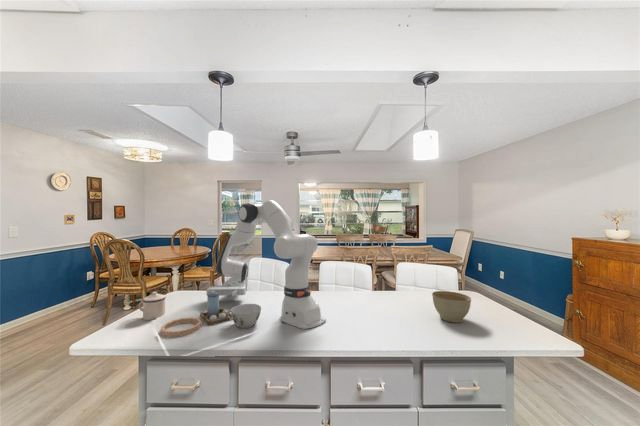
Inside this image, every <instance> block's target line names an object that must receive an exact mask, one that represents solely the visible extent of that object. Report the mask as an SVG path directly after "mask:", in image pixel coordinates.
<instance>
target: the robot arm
mask: <svg viewBox="0 0 640 426" xmlns="http://www.w3.org/2000/svg"><path fill="white" fill-rule="evenodd" d="M237 213H238V218H237V222H236V226H235V230H234V232H233V233H231V234H229V235H228V237H227V239H226V241H225V244H224V245H223V249H222V251H221V254H220V256H219V259H218V260H217V262H216V264H215V272H216V273H217V275H219V276H226V277H230V278H229V279H227V280H226V281H225V282H223V283H222V285H212V286H209V287H207V289H206V291H205V292H206V293H205V294H206V296H207V294H208V293H210V292H219V297H221V296H226V297H234V296H245V295H246V293H247V292H246V291H247V283H246V281H245V280H246V279H247V277H248V274H249V266H248V265H247V263H246V262H242V261H239V260H234V259H229V255H230V253H231V250H232V248H233V247H235V246H236V247H237V246H242V245H246V244H249V243H250V242H252V241H253V239H254V237H255V234H256V229H257V224H265V223H266V224H267V225H268V227H269V228H270V230H271V232H272V233H273V235H274V238H275V241H274V243H273V251H274V254H275V255H276V256H277V257H278V258H280V259H283V260H284V259H285V260H287V259H288V260H289V259H291V261H290V263H289V265H287V267H286V269H285V271H284V272H285V273H284V275H285V276H284V281H285V282H284V287H283V295H284V297H283V299H282V303H281V304H282V305H281V315H280V317H279V320H280V321H282V322H283V323H284V324H287V325H291V326H293V327H295V328H299V329H302V330H307V329H311V328H312V329H313V328H315V327H318V326H320V325H323V324H325V323H326V321H327V318H326V317H325V316H323V315H322V314H321V313H322V312H321V308H320V306H319V303H318V302H317V301H316V300H315V299H314V298H313V296H312V295H311V293H312V292H313V291H312V289H310V286H309V269H310V265H311V261H312V258H313V256H314V253H315V252H317V249H318V240H317V238H316V237H315V236H314V235H311V234H309V233H308V234H307V233H301V234H300V233H298V234H297V233H295V231H294V230H293V227H294V221H293V220H292V219H291V218H290V216H289V215H288V213H286V211H285V209H284V208H282V206H281V205H279V203H278V202H277V201H275V200H273V199H268V200H266V201H264V202H263V203H258V202H255V203H253V202H252V203H244V204H241V205H240V207H239V209H238V212H237Z"/></svg>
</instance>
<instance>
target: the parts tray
mask: <svg viewBox="0 0 640 426" xmlns="http://www.w3.org/2000/svg"><path fill="white" fill-rule="evenodd" d="M224 310H226V309H225V308H219V315H220V314H221V313H222V312H223V311H224ZM229 316H230V317H231V318H232V315H231V312H230V313H229ZM200 318H201V320H202V321H204V322H205V324H207V325H208V326H213V325H217V324H221V323H224V322H225V323H226V322H229V321H231V320H230V319H229V318H228V316H227V317H225V318H221V319H219V317H218V318H217V320H213V321H210V320H209V319H208V318H207V311H206V312H201V313H199V319H200Z"/></svg>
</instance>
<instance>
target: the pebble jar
mask: <svg viewBox="0 0 640 426" xmlns="http://www.w3.org/2000/svg"><path fill="white" fill-rule="evenodd" d="M206 296H207V304H206V305H207V309H206V310H207V311H206V312H207V318H208V319H210V317H211V316H212V315H215V316H216V317H217V318H218V317H219V309H220V296H219V292H210V293H208V294H207V295H206Z"/></svg>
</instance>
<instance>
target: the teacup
mask: <svg viewBox="0 0 640 426" xmlns="http://www.w3.org/2000/svg"><path fill="white" fill-rule="evenodd" d="M261 310H262V306H261V305H259V304H256V303H244V304H239V305H237V306H233V307H231V309H228V310H227V311H228V312H227V316H228V318H229V319H230V320H229V321H233V323H234V324H235V325H236V326H237V328H241V329H247V328H251V327H253V326H254V325H256V323H257V322H258V320H259V318H260V316H261ZM229 313H231V315H232V318H231V317H230V316H229Z"/></svg>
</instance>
